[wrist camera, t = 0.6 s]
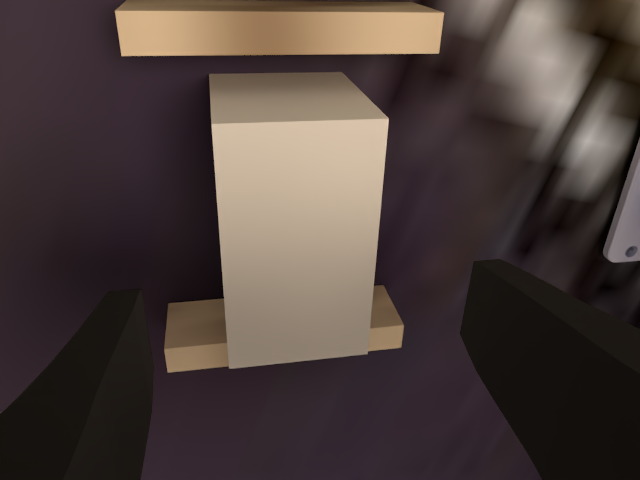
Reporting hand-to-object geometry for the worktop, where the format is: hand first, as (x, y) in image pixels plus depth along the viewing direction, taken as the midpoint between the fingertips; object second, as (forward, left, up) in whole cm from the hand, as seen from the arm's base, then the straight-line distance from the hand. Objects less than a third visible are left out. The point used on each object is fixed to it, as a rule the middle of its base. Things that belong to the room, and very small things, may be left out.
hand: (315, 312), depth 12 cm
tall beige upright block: (0, 0, -7) cm, 7 cm away
